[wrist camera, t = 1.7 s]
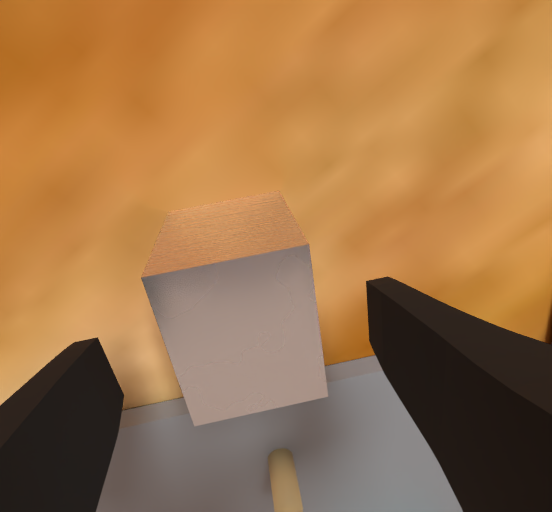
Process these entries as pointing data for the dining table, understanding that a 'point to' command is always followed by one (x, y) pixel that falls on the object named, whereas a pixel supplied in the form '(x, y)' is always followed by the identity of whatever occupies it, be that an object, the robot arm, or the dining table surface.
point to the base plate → (281, 456)
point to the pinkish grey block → (237, 307)
